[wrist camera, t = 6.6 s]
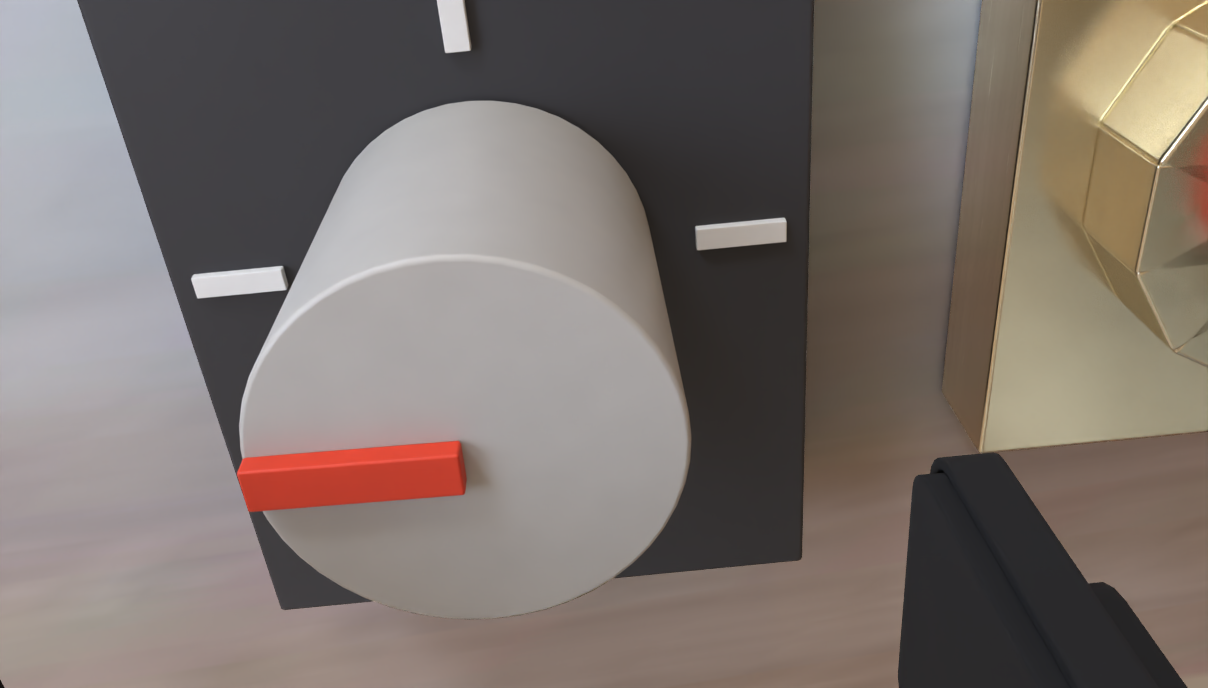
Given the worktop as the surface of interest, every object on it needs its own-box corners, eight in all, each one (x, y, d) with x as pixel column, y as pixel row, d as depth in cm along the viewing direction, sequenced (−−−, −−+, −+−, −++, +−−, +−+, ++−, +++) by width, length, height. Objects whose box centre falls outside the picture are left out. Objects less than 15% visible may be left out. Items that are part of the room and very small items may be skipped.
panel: (773, 465, 22) (804, 567, 19) (311, 510, 22) (278, 618, 19) (774, -298, 15) (825, -307, 12) (93, -232, 15) (-8, -227, 12)
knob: (643, 86, 15) (691, 249, 10) (656, 379, 17) (698, 622, 12) (294, 113, 15) (173, 289, 10) (359, 403, 17) (288, 656, 12)
